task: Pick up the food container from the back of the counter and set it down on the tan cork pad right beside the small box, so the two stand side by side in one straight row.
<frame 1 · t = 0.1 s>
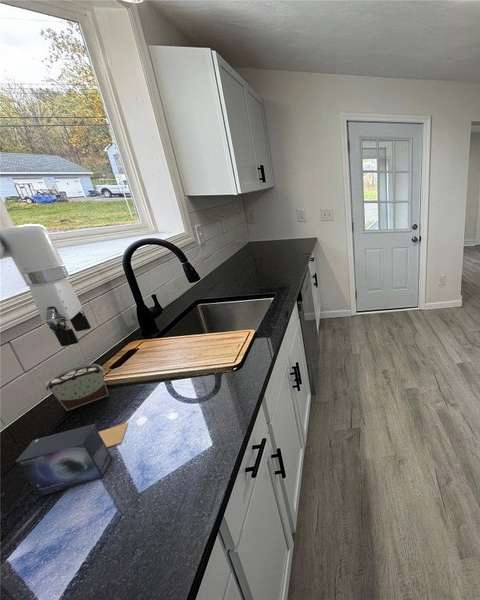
hand: (77, 336, 84), 23 cm above the counter, tool pointing down, fingers open, 9 cm apart
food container: (89, 398, 96), on the counter
small box: (79, 477, 69), on the counter
cork pad: (92, 443, 78), on the counter
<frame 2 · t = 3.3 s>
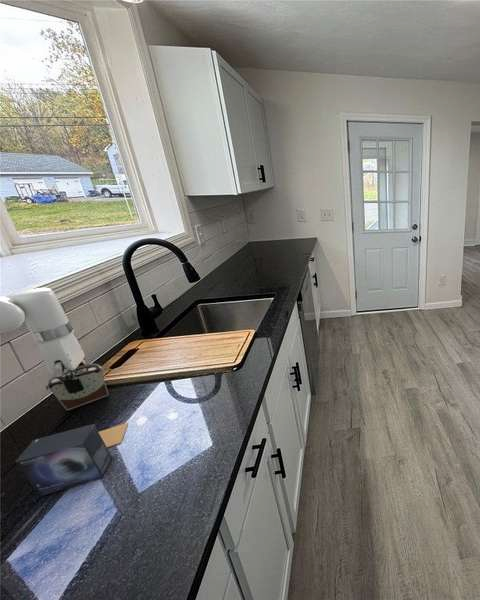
hand: (81, 384, 94), 5 cm above the counter, tool pointing down, fingers closed on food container, 6 cm apart
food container: (89, 398, 96), on the counter, touching gripper
everything else where it was.
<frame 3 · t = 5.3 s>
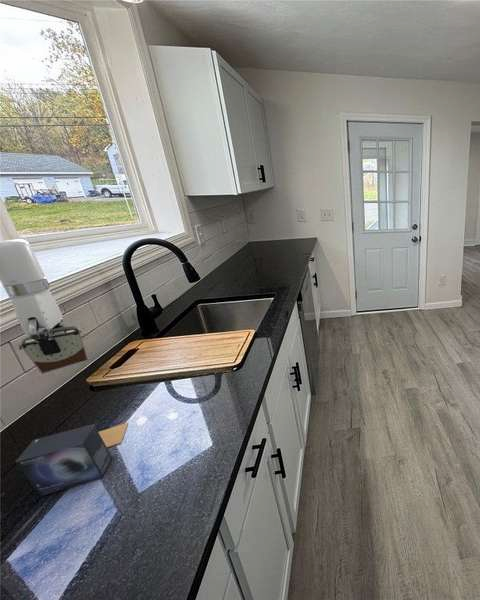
hand: (58, 347, 88), 18 cm above the counter, tool pointing down, fingers closed on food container, 6 cm apart
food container: (67, 363, 90), point 13 cm above the counter, touching gripper
everything else where it was.
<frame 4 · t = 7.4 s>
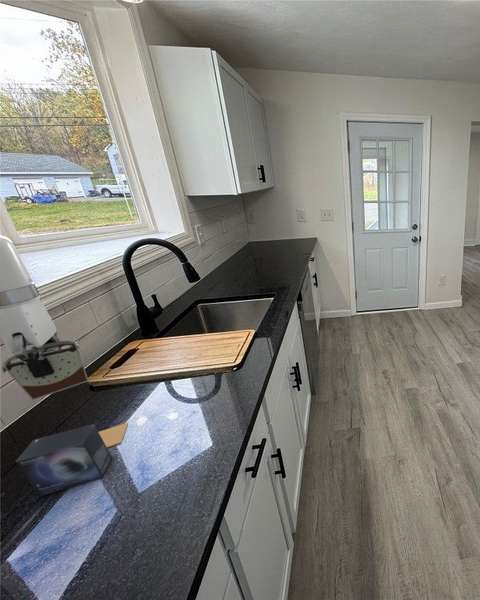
hand: (51, 367, 73), 21 cm above the counter, tool pointing down, fingers closed on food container, 6 cm apart
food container: (63, 385, 75), point 16 cm above the counter, touching gripper
everything else where it was.
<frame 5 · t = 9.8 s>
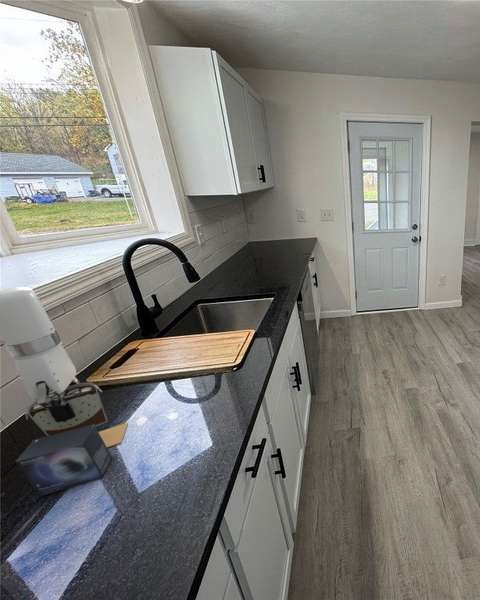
hand: (72, 409, 74), 11 cm above the counter, tool pointing down, fingers closed on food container, 6 cm apart
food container: (83, 426, 76), point 6 cm above the counter, touching gripper
everything else where it was.
when the fingers open (5 cm above the counter, at t = 11.7 s): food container stays where it is, resting on cork pad.
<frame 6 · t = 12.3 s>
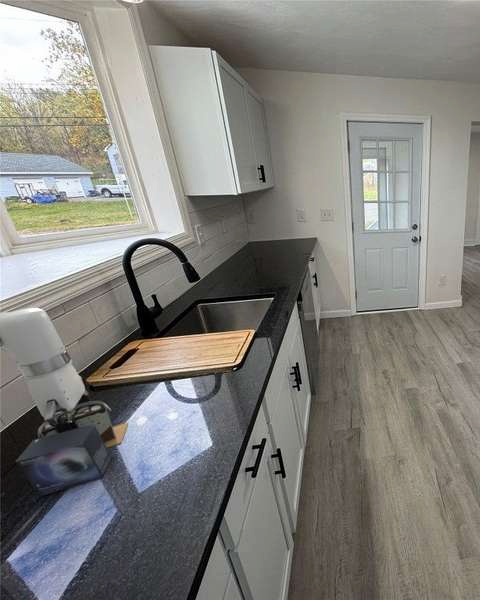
hand: (80, 423, 76), 7 cm above the counter, tool pointing down, fingers open, 9 cm apart
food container: (92, 443, 78), resting on cork pad
everything else where it was.
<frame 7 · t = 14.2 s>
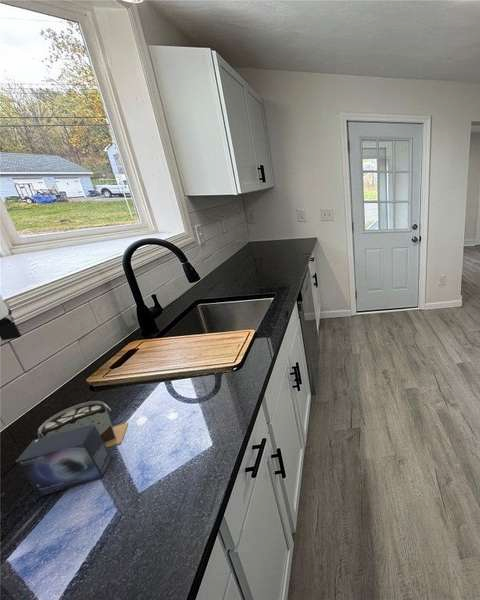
hand: (0, 346, 72), 27 cm above the counter, tool pointing down, fingers open, 9 cm apart
nothing on the counter moved.
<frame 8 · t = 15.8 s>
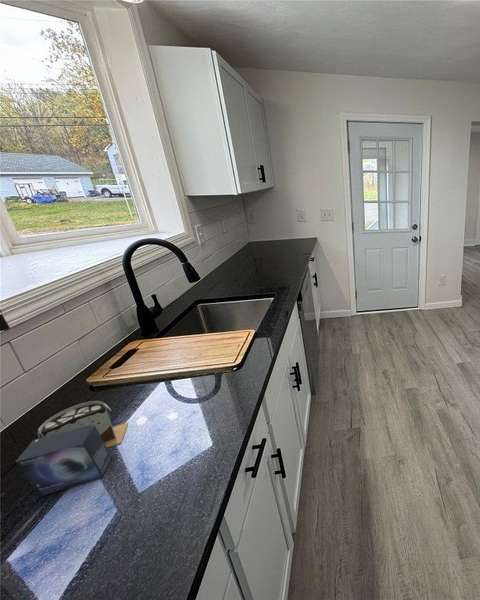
nothing on the counter moved.
at the end: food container 0.5 cm from the target spot on the counter beside the small box, resting on cork pad; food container tilted 0°; small box moved 0.2 cm from its start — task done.
